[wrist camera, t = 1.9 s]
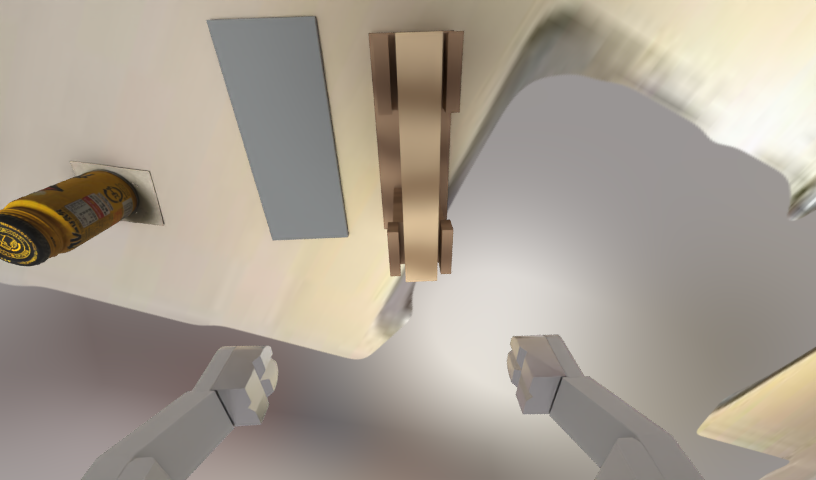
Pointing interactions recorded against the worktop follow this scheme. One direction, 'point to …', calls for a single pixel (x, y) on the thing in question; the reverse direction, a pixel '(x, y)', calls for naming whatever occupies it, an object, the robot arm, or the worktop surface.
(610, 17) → the worktop surface
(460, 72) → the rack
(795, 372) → the worktop surface
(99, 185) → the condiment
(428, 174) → the rail
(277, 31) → the mat
